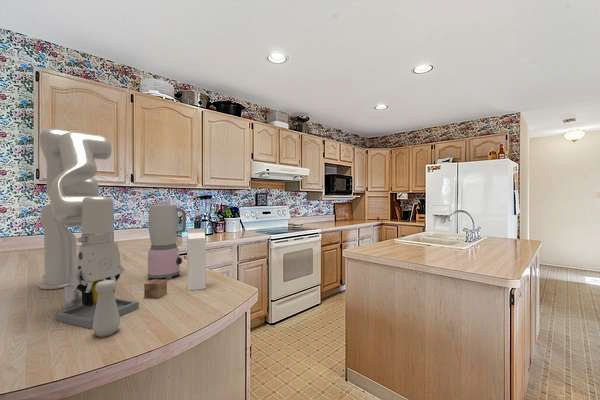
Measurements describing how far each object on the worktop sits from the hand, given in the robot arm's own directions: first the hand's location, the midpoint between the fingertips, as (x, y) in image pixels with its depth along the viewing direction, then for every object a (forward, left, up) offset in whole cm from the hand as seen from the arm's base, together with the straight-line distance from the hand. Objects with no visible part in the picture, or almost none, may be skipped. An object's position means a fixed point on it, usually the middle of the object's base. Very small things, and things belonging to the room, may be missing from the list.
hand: (99, 300), depth 81 cm
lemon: (0, 0, -2) cm, 2 cm away
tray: (0, 0, -4) cm, 4 cm away
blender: (-11, +36, -4) cm, 38 cm away
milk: (+10, +29, -4) cm, 31 cm away
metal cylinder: (-11, 0, -4) cm, 11 cm away
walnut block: (+3, +17, -4) cm, 18 cm away
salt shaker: (+13, -7, -4) cm, 16 cm away
